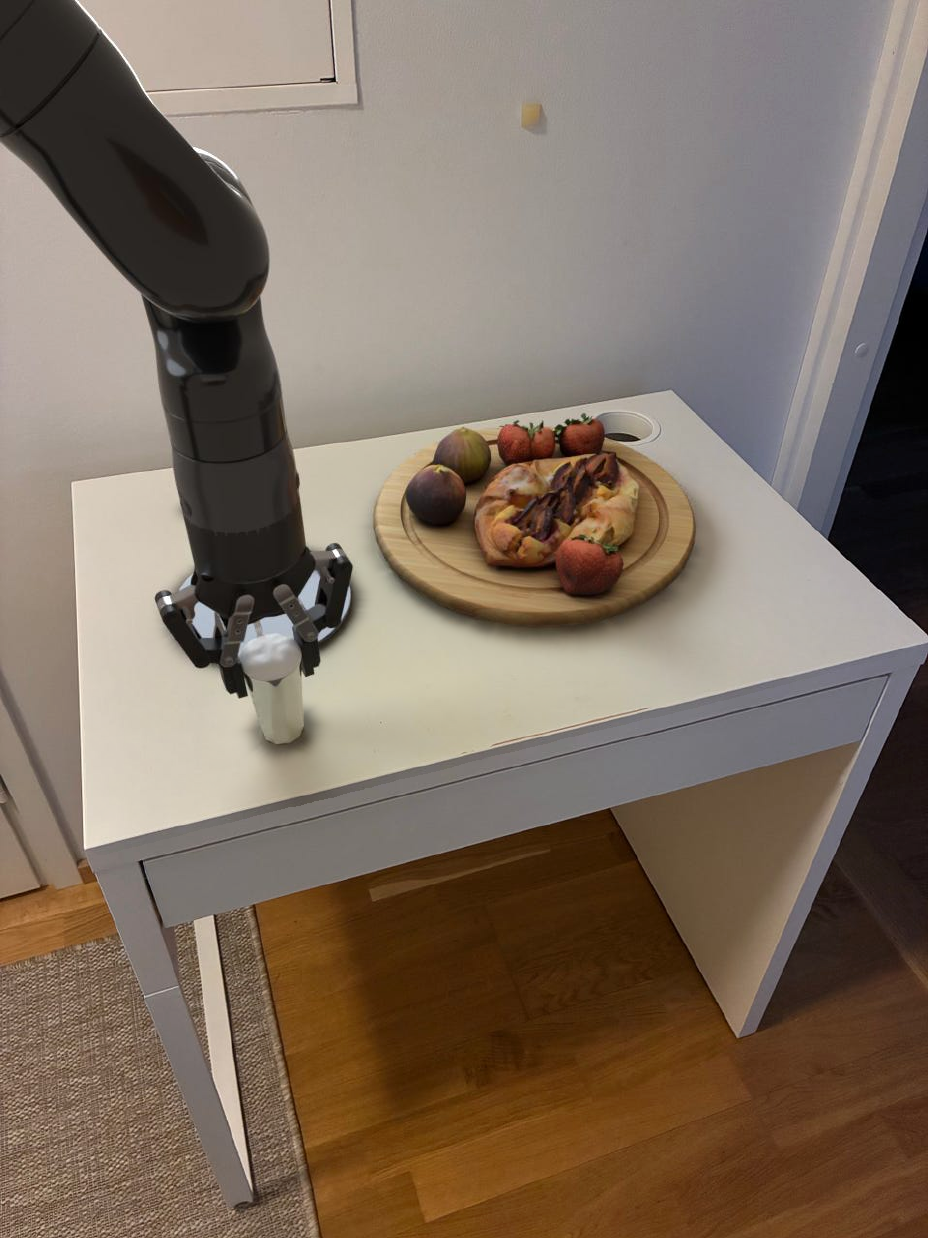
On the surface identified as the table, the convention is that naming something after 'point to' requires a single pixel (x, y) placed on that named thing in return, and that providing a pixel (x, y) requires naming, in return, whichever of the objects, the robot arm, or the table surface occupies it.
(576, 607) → the wooden plate
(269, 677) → the milkshake
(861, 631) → the table surface
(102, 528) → the table surface
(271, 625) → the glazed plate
